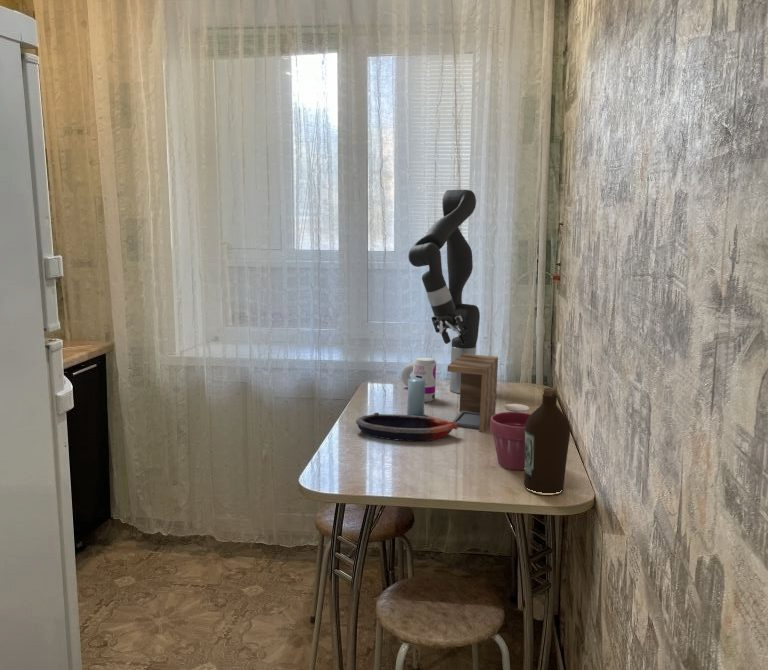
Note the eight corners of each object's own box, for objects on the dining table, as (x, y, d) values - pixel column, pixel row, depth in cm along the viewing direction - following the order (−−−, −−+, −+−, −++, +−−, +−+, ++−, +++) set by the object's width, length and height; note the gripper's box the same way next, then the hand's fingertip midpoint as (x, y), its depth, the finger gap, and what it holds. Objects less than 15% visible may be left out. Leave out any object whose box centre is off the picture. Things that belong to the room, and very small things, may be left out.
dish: (360, 424, 217) (361, 409, 216) (458, 431, 213) (458, 415, 212) (350, 439, 202) (351, 423, 201) (455, 447, 197) (456, 430, 197)
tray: (461, 414, 230) (461, 410, 230) (488, 417, 227) (488, 413, 227) (451, 425, 217) (451, 422, 217) (479, 429, 214) (479, 425, 214)
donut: (427, 388, 264) (428, 362, 262) (425, 390, 260) (426, 364, 259) (401, 386, 266) (402, 361, 264) (399, 388, 263) (400, 362, 261)
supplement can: (435, 397, 251) (436, 357, 249) (434, 403, 243) (436, 361, 241) (412, 395, 252) (414, 356, 249) (411, 401, 244) (412, 360, 241)
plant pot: (478, 464, 183) (480, 418, 181) (505, 451, 194) (507, 408, 192) (525, 478, 174) (528, 430, 172) (551, 464, 185) (554, 418, 183)
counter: (460, 410, 235) (462, 353, 231) (495, 414, 231) (498, 356, 227) (445, 427, 215) (447, 365, 212) (482, 432, 211) (486, 369, 208)
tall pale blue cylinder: (410, 411, 231) (411, 377, 229) (426, 413, 230) (427, 378, 228) (405, 416, 226) (406, 380, 224) (421, 418, 224) (422, 382, 222)
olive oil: (559, 480, 173) (566, 384, 169) (570, 497, 163) (578, 396, 159) (517, 479, 173) (523, 383, 169) (526, 496, 163) (532, 394, 159)
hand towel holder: (499, 421, 209) (488, 403, 229) (498, 435, 210) (488, 415, 230) (554, 422, 209) (539, 404, 229) (553, 436, 210) (538, 416, 230)
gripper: (462, 295, 225) (478, 339, 230) (434, 295, 237) (449, 337, 242) (447, 305, 222) (463, 349, 226) (419, 305, 233) (435, 347, 238)
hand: (456, 343), depth 234 cm, fingers open, 8 cm apart
